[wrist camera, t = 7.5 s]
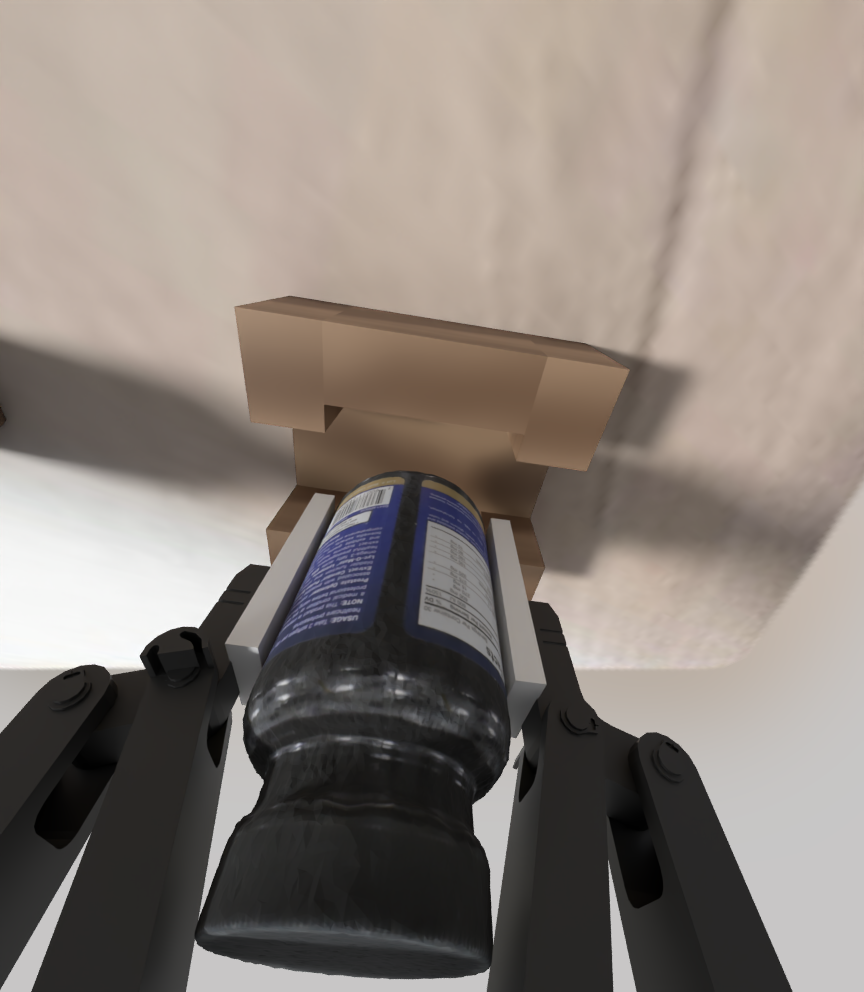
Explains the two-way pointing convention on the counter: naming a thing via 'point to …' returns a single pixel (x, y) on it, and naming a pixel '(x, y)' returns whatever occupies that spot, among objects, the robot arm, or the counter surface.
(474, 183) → the counter surface
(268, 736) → the pill bottle
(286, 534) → the socket
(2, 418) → the beer bottle
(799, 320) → the counter surface
